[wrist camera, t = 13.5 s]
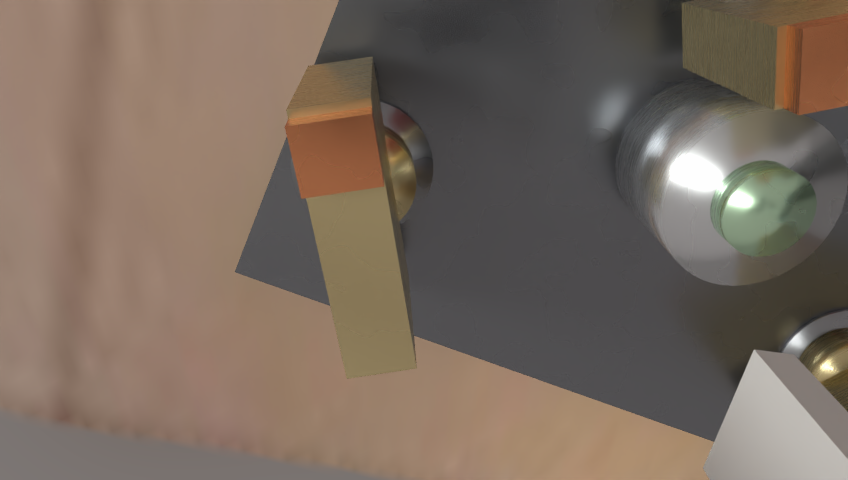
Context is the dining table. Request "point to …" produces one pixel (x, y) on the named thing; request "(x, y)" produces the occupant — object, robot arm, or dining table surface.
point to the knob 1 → (356, 211)
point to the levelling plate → (588, 201)
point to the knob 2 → (830, 363)
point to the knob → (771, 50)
